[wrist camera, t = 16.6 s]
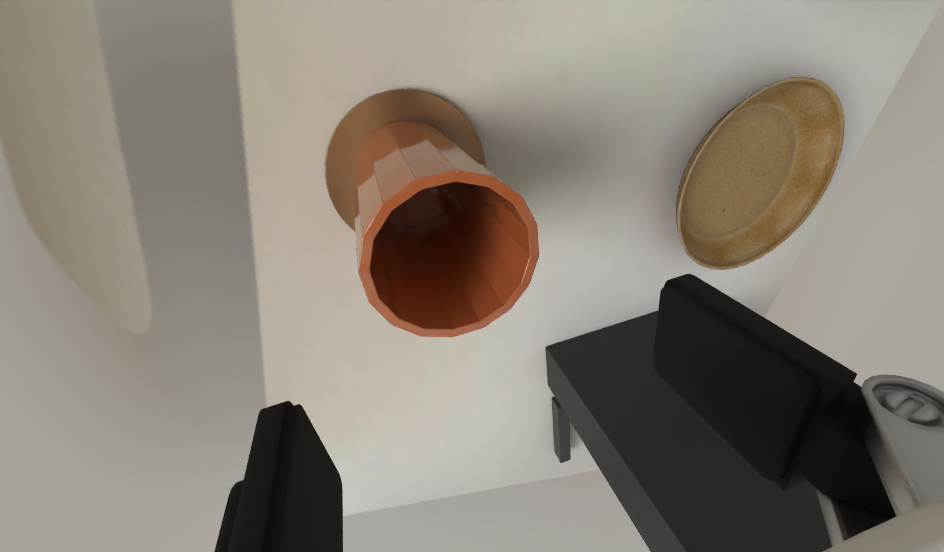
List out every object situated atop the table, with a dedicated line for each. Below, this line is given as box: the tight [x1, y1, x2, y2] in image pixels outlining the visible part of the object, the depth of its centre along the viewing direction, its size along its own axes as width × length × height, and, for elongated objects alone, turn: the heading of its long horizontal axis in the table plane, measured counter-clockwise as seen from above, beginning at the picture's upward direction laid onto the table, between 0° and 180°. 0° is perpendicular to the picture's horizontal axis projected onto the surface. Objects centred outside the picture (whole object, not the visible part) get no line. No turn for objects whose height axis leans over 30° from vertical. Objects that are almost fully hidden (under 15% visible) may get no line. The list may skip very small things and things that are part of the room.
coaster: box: [325, 89, 485, 231], centre depth 25 cm, size 10×10×1 cm
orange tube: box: [352, 120, 539, 337], centre depth 20 cm, size 7×7×12 cm
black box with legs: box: [546, 311, 832, 552], centre depth 33 cm, size 13×16×20 cm
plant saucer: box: [676, 77, 844, 270], centre depth 31 cm, size 15×15×3 cm
